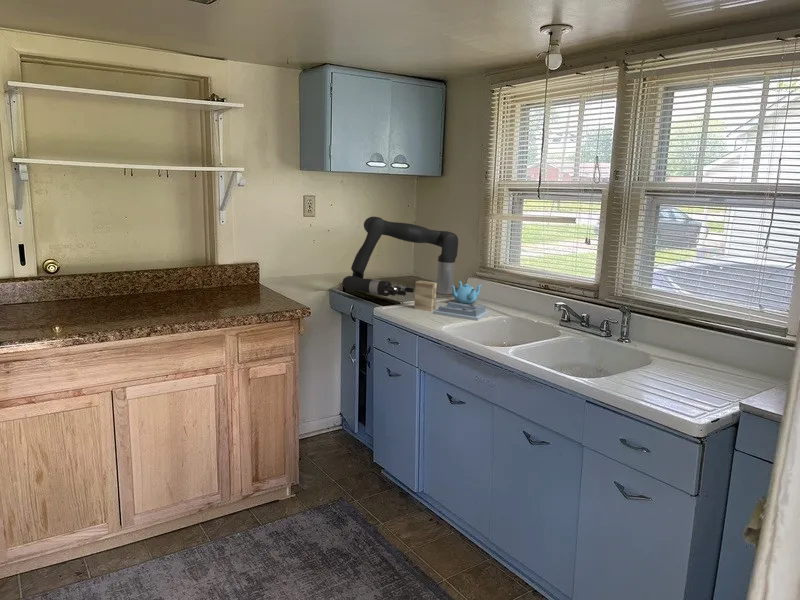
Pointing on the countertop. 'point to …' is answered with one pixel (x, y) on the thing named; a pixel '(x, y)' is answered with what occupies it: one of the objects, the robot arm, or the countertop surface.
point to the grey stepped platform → (462, 311)
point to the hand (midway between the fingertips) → (409, 291)
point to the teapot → (465, 293)
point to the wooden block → (425, 295)
